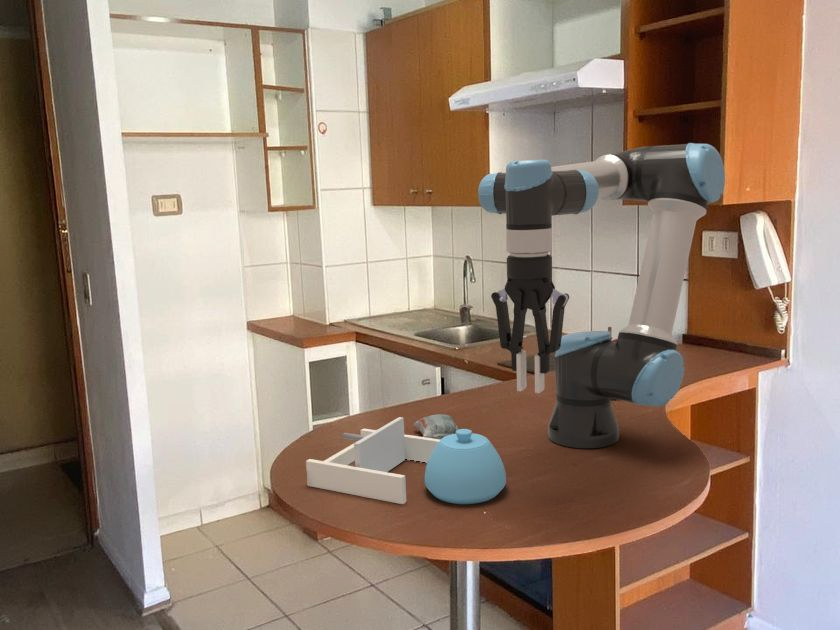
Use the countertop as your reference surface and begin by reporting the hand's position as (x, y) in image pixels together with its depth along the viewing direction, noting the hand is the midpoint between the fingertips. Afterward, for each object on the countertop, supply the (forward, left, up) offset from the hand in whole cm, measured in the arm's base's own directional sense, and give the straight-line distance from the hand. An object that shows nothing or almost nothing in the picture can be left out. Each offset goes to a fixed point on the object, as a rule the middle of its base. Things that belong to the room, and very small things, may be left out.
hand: (530, 389), depth 133 cm
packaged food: (+31, -23, -21) cm, 44 cm away
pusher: (+35, 0, -20) cm, 40 cm away
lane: (+31, 0, -21) cm, 37 cm away
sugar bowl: (+13, 0, -21) cm, 25 cm away
